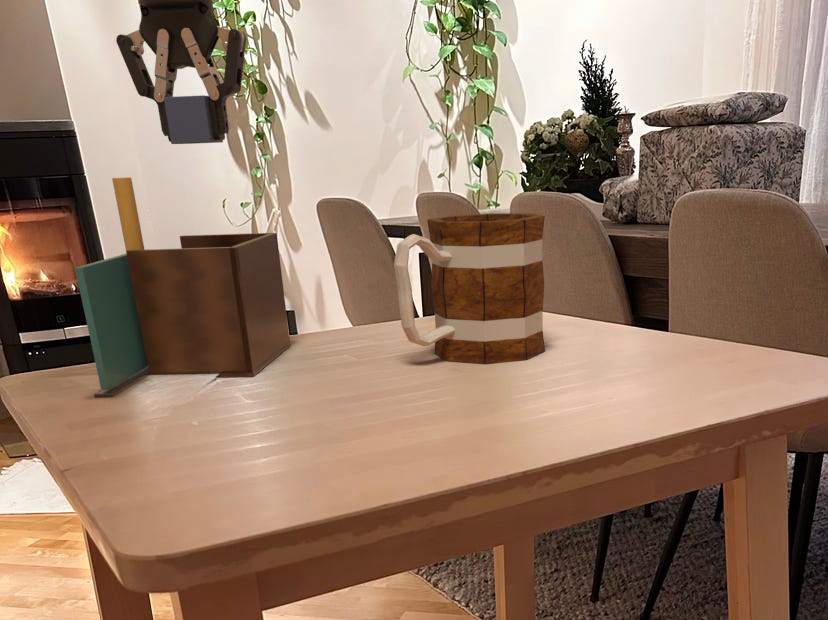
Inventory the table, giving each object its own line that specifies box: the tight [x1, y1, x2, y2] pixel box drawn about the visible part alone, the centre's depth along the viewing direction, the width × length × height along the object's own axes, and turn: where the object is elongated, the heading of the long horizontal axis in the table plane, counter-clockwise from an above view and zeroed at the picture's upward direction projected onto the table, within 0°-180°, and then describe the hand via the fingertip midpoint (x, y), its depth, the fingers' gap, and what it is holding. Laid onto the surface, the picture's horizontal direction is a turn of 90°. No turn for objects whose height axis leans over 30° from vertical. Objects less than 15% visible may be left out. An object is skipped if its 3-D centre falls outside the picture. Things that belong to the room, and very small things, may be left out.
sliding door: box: [74, 176, 148, 391], centre depth 102 cm, size 2×17×20 cm, turn 177°
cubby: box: [93, 232, 291, 399], centre depth 108 cm, size 14×28×14 cm, turn 177°
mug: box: [393, 212, 546, 365], centre depth 110 cm, size 20×14×15 cm
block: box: [164, 94, 224, 145], centre depth 105 cm, size 4×4×4 cm
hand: (196, 139), depth 106 cm, fingers closed on block, 4 cm apart
